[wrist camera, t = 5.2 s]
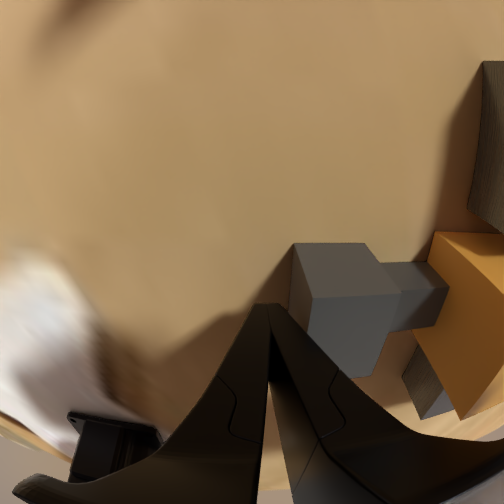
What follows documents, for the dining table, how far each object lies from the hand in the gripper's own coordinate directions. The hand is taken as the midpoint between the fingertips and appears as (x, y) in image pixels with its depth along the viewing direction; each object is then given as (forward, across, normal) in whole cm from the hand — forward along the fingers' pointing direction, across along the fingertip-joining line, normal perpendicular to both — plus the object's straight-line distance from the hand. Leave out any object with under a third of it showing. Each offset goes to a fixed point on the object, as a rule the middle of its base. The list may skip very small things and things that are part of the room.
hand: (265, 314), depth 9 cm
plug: (+2, -6, 0) cm, 6 cm away
